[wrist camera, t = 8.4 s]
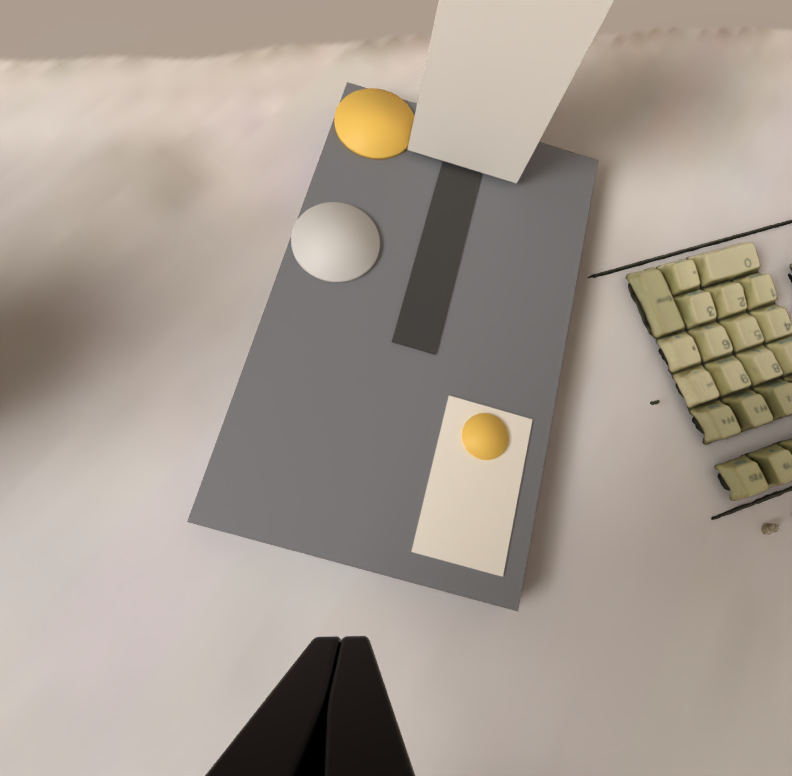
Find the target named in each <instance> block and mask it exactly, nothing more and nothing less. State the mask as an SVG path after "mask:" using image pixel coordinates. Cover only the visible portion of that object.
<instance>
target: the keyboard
mask: <svg viewBox="0 0 792 776" xmlns="http://www.w3.org/2000/svg"><path fill="white" fill-rule="evenodd" d="M790 223H792V220H789V221H785V222H782V223H777V224H774V225H770V226H767V227H763V228H759V229H756V230H753V231H749V232H745V233H741V234H737V235H733V236H731V237H727V238H723V239H719V240H715V241H712V242H708V243H705V244H701V245H698V246H694V247H690V248H687V249H683V250H679V251H676V252H672V253H669V254H666V255H662V256H658V257H654V258H651V259H647V260H643V261H639V262H636V263H633V264H630V265H626V266H622V267H619V268H615V269H612V270H608V271H605V272H601V273H598V274H593V275H591V276H589V277H588V278H591V277H593V278H595V277H598V276H603V275H607V274H611V273H614V272H618V271H621V270H625V269H628V268H632V267H635V266H640V265H643V264H646V263H649V262H652V261H656V260H661V259H665V258H668V257H671V256H675V255H678V254H682V253H685V252H689V251H694V250H697V249H700V248H703V247H706V246H711V245H715V244H719V243H722V242H726V241H729V240H732V239H736V238H740V237H744V236H747V235H751V234H755V233H757V232H761V231H765V230H768V229H772V228H776V227H779V226H783V225H786V224H790ZM759 267H760V262H759V258H758V255H757V251H756V248H755V245H754V243H752V242H749V243H738V244H735V245H731V246H728V247H724V248H721V249H717V250H713V251H710V252H706V253H702V254H699V255H695V256H692V257H687V258H686V259H681V260H678V261H675V262H671V263H667V264H664V265H662V266H658V267H656V268H654V267H652V268H648V269H645V270H643V271H639V272H635V273H631V274H627V275H626V279H627V280H628V281H629V284H628V288H629V291H630V294H631V297H632V299H633V300H634V301H635V303H636V304H637V306H638V310H639V313H640V315H641V317H642V320H643V323H644V325H645V326H646V328H647V330H648V332H649V334H650V335H652V336H653V337H654V338H655V339H656V343H657V344H658V346H659V347H660V349H659V353H660V354H661V356H662V359H663V360H665V362H666V364H667V365H668V371H669V372H670V373H671V375H672V378H673V379H674V380H675V382H676V388H677V389H678V392H679V393H680V394H681V395H682V397H683V398H685V400H686V406H687V408H688V409H689V413H690V414H692V415H693V419H692V422H693V423H694V424H695V425H696V428H697V429H698V430H699V431H700V432H701V433H703V434H704V438H703V444H709V443H711V442H713V441H715V440H718V439H727V438H729V437H732V436H734V435H737V434H739V433H740V432H743V431H745V430H749V429H752V428H756V427H758V426H761V425H764V424H767V423H769V422H772V421H773V420H775V419H778V418H781V417H783V416H789V415H791V414H792V323H791V321H790V318H789V316H788V313H787V311H786V309H785V308H783V307H780V306H778V305H776V304H775V300H776V299H777V294H776V290H775V287H774V283H773V280H772V278H771V275H770V274H760V273H758V269H759ZM790 269H791V270H792V264H790ZM788 276H789V279H790V280H791V282H792V275H790V274H788ZM659 402H660V401H659V400H657V401H654V402H650V404H651V405H654V404H658V403H659ZM700 404H701V405H700ZM714 468H715V469H716V470H718V471H719V472H720V473H719V474H718V478H719V480H720V482H721V485H722V486H723V487H724V488H725V489H726V490H730V491H731V492H730V499H731V500H733V501H735V500H739V499H743V498H746V497H751V496H753V495H756V494H759V493H761V492H764V491H767V490H768V488H769V487H772V486H777V485H781V484H786V483H788V482H790V481H792V439H789V440H786V441H780V442H777V443H774V444H772V445H770V446H768V447H765V448H762V449H760V450H758V451H755V452H752V453H746V454H745V455H741V456H740V458H737V459H734V460H731V461H728V462H726V463H722V464H718V465H715V467H714ZM789 491H792V487H790V488H787V489H785V490H782V491H778V492H774V493H772V494H769V495H766V496H764V497H762V498H760V499H756V500H755V501H754V502H752V503H749V504H744V505H741V506H738V507H735V508H734V509H731V510H729V511H727V512H724V513H722V514H719V515H717V516H714V517H712V518H711V519H712V520H714V519H717V518H720V517H722V516H725V515H728V514H732V513H734V512H736V511H739V510H741V509H744V508H747V507H750V506H753V505H755V504H759V503H761V502H763V501H766V500H768V499H771V498H774V497H777V496H780V495H782V494H784V493H786V492H789ZM778 527H779V525H777V524H767V523H765V524H763V526H762V529H761V531H762V532H763V533H764V534H771V532H777V531H778V530H779V528H778Z"/></svg>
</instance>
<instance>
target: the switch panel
mask: <svg viewBox="0 0 792 776" xmlns="http://www.w3.org/2000/svg"><path fill="white" fill-rule="evenodd" d="M416 107H417V104H416V103H412V102H409V101H406V100H403V99H401V98H400V97H398V96H397V95H395V94H393V93H391V92H388V91H385V90H381V89H372V88H370V89H367V88H364V87H361V86H358V85H355V84H351V83H348V82H347V84H346V87H345V90H344V93H343V95H342V98H341V101H340V103H339V105H338V107H337V109H336V112H335V117H334V120H333V123H332V126H331V128H330V131H329V134H328V137H327V139H326V142H325V145H324V148H323V150H322V153H321V156H320V159H319V161H318V164H317V167H316V170H315V172H314V175H313V178H312V181H311V183H310V186H309V189H308V192H307V194H306V197H305V200H304V203H303V205H302V208H301V211H300V214H299V216H298V219H297V221H296V223H295V225H294V227H293V230H292V234H291V238H290V241H289V244H288V247H287V249H286V252H285V255H284V258H283V260H282V263H281V266H280V269H279V271H278V274H277V277H276V280H275V282H274V285H273V288H272V290H271V293H270V296H269V299H268V301H267V304H266V307H265V310H264V312H263V315H262V318H261V321H260V323H259V326H258V329H257V332H256V334H255V337H254V340H253V343H252V345H251V348H250V351H249V354H248V356H247V359H246V362H245V365H244V367H243V370H242V373H241V376H240V378H239V381H238V384H237V387H236V389H235V392H234V395H233V398H232V400H231V403H230V406H229V409H228V411H227V414H226V417H225V420H224V422H223V425H222V428H221V431H220V433H219V436H218V439H217V442H216V444H215V447H214V450H213V453H212V455H211V458H210V461H209V464H208V466H207V469H206V472H205V475H204V477H203V480H202V483H201V486H200V488H199V491H198V494H197V497H196V499H195V502H194V505H193V508H192V510H191V513H190V516H189V519H188V521H187V522H190V523H193V524H197V525H201V526H204V527H208V528H212V529H215V530H219V531H223V532H227V533H230V534H234V535H238V536H241V537H245V538H249V539H252V540H256V541H260V542H264V543H267V544H271V545H275V546H278V547H282V548H286V549H289V550H293V551H297V552H301V553H304V554H308V555H312V556H315V557H319V558H323V559H326V560H330V561H334V562H337V563H341V564H345V565H349V566H352V567H356V568H360V569H363V570H367V571H371V572H374V573H378V574H382V575H386V576H389V577H393V578H397V579H400V580H404V581H408V582H411V583H415V584H419V585H423V586H426V587H430V588H434V589H437V590H441V591H445V592H448V593H452V594H456V595H460V596H463V597H467V598H471V599H474V600H478V601H482V602H485V603H489V604H493V605H497V606H500V607H504V608H508V609H511V610H515V611H518V609H519V603H520V597H521V592H522V586H523V581H524V575H525V569H526V564H527V558H528V552H529V547H530V541H531V536H532V530H533V524H534V519H535V513H536V507H537V502H538V496H539V490H540V485H541V479H542V474H543V468H544V462H545V457H546V451H547V445H548V440H549V434H550V428H551V423H552V417H553V412H554V406H555V400H556V395H557V389H558V383H559V378H560V372H561V366H562V361H563V355H564V350H565V344H566V338H567V333H568V327H569V321H570V316H571V310H572V304H573V299H574V293H575V288H576V282H577V276H578V271H579V265H580V259H581V254H582V248H583V242H584V237H585V231H586V226H587V220H588V214H589V209H590V203H591V197H592V192H593V186H594V180H595V175H596V169H597V164H598V160H595V159H592V158H589V157H586V156H582V155H579V154H576V153H573V152H570V151H566V150H563V149H560V148H557V147H554V146H550V145H547V144H544V143H541V142H539V143H538V144H537V146H536V148H535V150H534V152H533V154H532V156H531V158H530V160H529V161H528V163H527V165H526V167H525V169H524V171H523V173H522V175H521V177H520V178H519V180H518V182H517V183H514V182H510V181H507V180H504V179H500V178H497V177H494V176H491V175H487V174H484V173H481V172H478V171H474V170H471V169H468V168H465V167H461V166H458V165H455V164H452V163H448V162H445V161H442V160H439V159H435V158H432V157H429V156H426V155H422V154H419V153H416V152H413V151H409V150H407V149H408V145H409V140H410V135H411V130H412V126H413V121H414V116H415V112H416Z"/></svg>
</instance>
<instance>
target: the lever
mask: <svg viewBox="0 0 792 776" xmlns="http://www.w3.org/2000/svg"><path fill="white" fill-rule="evenodd" d="M613 1H614V0H439V3H438V7H437V12H436V17H435V22H434V26H433V31H432V36H431V41H430V45H429V50H428V55H427V59H426V64H425V69H424V74H423V78H422V83H421V88H420V93H419V97H418V102H417V107H416V112H415V116H414V121H413V126H412V130H411V135H410V140H409V145H408V149H407V150H409V151H413V152H416V153H419V154H422V155H426V156H429V157H432V158H435V159H439V160H442V161H445V162H448V163H452V164H455V165H458V166H461V167H465V168H468V169H471V170H474V171H478V172H481V173H484V174H487V175H491V176H494V177H497V178H500V179H504V180H507V181H510V182H514V183H517V182H518V180H519V178H520V177H521V175H522V173H523V171H524V169H525V167H526V165H527V163H528V161H529V160H530V158H531V156H532V154H533V152H534V150H535V148H536V146H537V144H538V143H539V141H540V139H541V137H542V135H543V133H544V131H545V129H546V127H547V126H548V124H549V122H550V120H551V118H552V116H553V114H554V112H555V110H556V109H557V107H558V105H559V103H560V101H561V99H562V97H563V95H564V93H565V92H566V90H567V88H568V86H569V84H570V82H571V80H572V78H573V76H574V75H575V73H576V71H577V69H578V67H579V65H580V63H581V61H582V59H583V58H584V56H585V54H586V52H587V50H588V48H589V46H590V44H591V43H592V41H593V39H594V37H595V35H596V33H597V31H598V29H599V27H600V25H601V24H602V22H603V20H604V18H605V16H606V14H607V12H608V10H609V9H610V6H611V5H612V3H613Z"/></svg>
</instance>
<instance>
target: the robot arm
mask: <svg viewBox="0 0 792 776" xmlns="http://www.w3.org/2000/svg"><path fill="white" fill-rule="evenodd" d="M205 776H415V774H414V771H413V768H412V765H411V762H410V759H409V756H408V753H407V750H406V747H405V744H404V741H403V738H402V735H401V732H400V729H399V726H398V723H397V721H396V718H395V715H394V712H393V709H392V706H391V703H390V700H389V697H388V694H387V691H386V688H385V685H384V682H383V679H382V676H381V673H380V670H379V667H378V664H377V661H376V658H375V655H374V652H373V649H372V646H371V643H370V641H369V639H368V638H367V637H366V636H347V637H344V638H343V639H342V640H341V639H340V638H339V637H316V638H315V639H313V640H312V641H311V643H310V644H309V645H308V646H307V648H306V649H305V650H304V652H303V653H302V654H301V655H300V657H299V658H298V659H297V660H296V662H295V663H294V664H293V665H292V667H291V668H290V669H289V670H288V672H287V673H286V674H285V676H284V677H283V678H282V679H281V681H280V682H279V683H278V684H277V686H276V687H275V688H274V689H273V691H272V692H271V693H270V694H269V696H268V697H267V698H266V700H265V701H264V702H263V703H262V705H261V706H260V707H259V708H258V710H257V711H256V712H255V713H254V715H253V716H252V717H251V718H250V720H249V721H248V722H247V724H246V725H245V726H244V727H243V729H242V730H241V731H240V732H239V734H238V735H237V736H236V737H235V739H234V740H233V741H232V743H231V744H230V745H229V746H228V748H227V749H226V750H225V751H224V753H223V754H222V755H221V756H220V758H219V759H218V760H217V761H216V763H215V764H214V765H213V767H212V768H211V769H210V770H209V772H208V773H207V774H206V775H205Z"/></svg>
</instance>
